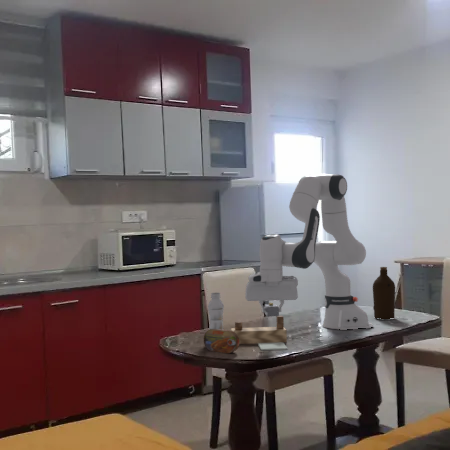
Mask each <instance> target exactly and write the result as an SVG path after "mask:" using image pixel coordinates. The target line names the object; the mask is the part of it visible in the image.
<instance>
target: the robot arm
mask: <svg viewBox="0 0 450 450" xmlns="http://www.w3.org/2000/svg"><path fill="white" fill-rule="evenodd" d="M347 190H348V182H347V179H346V178H345V177H344V176H343V175H342V174H338V173H334V174H331V173H320V174H313V175H311V174H309V175H304V176H302V177H301V178H300V180H299V181H298V183H297V184H296V187H295V189H294V191H293V193H292V196H291V198H290V200H289V206H288V208H289V212H290V213H291V215H292V216H293V217H294V218H295V219H296V220H298V221H300V222H302V223H304V224H305V225H304V230H303V235H302V239H301V240H300V241H298V242H287V241H285V240H283V239H282V238H281V235H280V234H276V233H275V234H274V233H273V234H272V233H271V234H266V235H264V236H262V237H261V239H260V243H259V260H260V266H259V271H258V272H255V273H252V274H250V275H248V276H247V277H248V282H247V284H246V285H245V286H246V287H245V293H244V295H245V300H246V301H248V302H258V304H259V305H260V306H261V312H262V313H265V312H266V307H265V305H263V304H264V302H266V301H267V302H268V301H272V302H273V301H279V303H280V304H279V306H278V307H279V313H281V312H282V307H283V306H284V304H285V301H296V300H297V299H298V298H299V294H298V288H297V287H298V284H299V283H298V281H299V280H298V278H297V277H296V276H294V275H289V276H288V275H284V274H283V267H287V268H288V267H289V268H298V269H303V270H304V269H308V268H309V267H311V266H312V264H313V263H315V264H316V265H317V266H318V267H319V269H320V270H321V272H322V274H323V277H324V284H325V285H324V286H325V295H324V307H325V311H324V318H323V323H322V327H323V328H326V329H333V330H339V329H340V330H341V331H348V330H347V329H353V330H359V329H358V328H366V329H372V328H371V327H373V328H374V324H373V323H372V322H370V321H369V317H368V314H367V312H366V311H365V310H364V309H362V308H361V307H359V306H358V305H357V304H356V302H358V301H359V298H358V297H357V296H352V295H351V279H350V277H349V276H348V275H347V274H345V273H344V272H342V271H341V270H340V268H339V266H355V265H360V264H361V265H362V263H363V262H364V261H365V259H366V257H367V251H366V248H365V246H364V244H363V243H362V242H360V241H359V240H358V239H356V237H355V236H354V235H353V233H352V232H351V229H350V226H349V222H348V214H347V204H346V199H345V195H346V194H347ZM319 201H321V202H320V209H321V216H320V212H319V210H317V209H318V208H317V207H318V204H319ZM320 218H321V220H322V222H321V223H322V228H323V230H324V232H326V233H327V234H329V235H331V236H332V237H333V238H334V239H335V240H320V241H317V239H318V238H317V237H318V235H319V234H318V233H319V228H320V227H319V226H320ZM340 330H339V331H340Z"/></svg>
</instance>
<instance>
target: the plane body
mask: <svg viewBox="0 0 450 450" xmlns="http://www.w3.org/2000/svg"><path fill="white" fill-rule="evenodd" d="M275 318H276V326H263V327H261V326H259V327H243V322H242V321H234V327H233V328H232V327H231V328H230V330H231V331H234V332H235V333H236V334H237V335H238V337H239V345H245V344H247V345H248V344H249V345H251V344H258V343H277V342H283V343H287V341H288V340H287V337H288V334H287V330H288V329H286V328H285V327H284V326H285V323H284V322H285V321H284V318H285V317H284V315H280V314H279V316H275Z"/></svg>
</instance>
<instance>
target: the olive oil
mask: <svg viewBox="0 0 450 450" xmlns="http://www.w3.org/2000/svg"><path fill="white" fill-rule="evenodd" d="M379 269H380V270H379V276H378V277H376V279H375V280H374V282H373V283H372V301H373V306H372V309H373V315H374V317H375V318H381V319H390V318H394V319H395V311H396V310H395V307H396V304H395V302H396V284H395V282H394V281H393V279H392V278H391V277H390V276H389V275H388V267H387V266H380V267H379ZM375 318H374V319H375Z"/></svg>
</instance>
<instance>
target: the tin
mask: <svg viewBox="0 0 450 450" xmlns="http://www.w3.org/2000/svg"><path fill="white" fill-rule="evenodd" d="M203 343H204V344H203V345H204V346H205V348H206V349H207V350H209V351H210V352H214V351H215V352H217V353H222V354H230V353H234V352H236V351H237V350H238V349H239V347H240V344H239V337H238V335H237V334H236V333H235V332H234V331H231V329H229V330H228V329H223V330H220V329H210V330H209V329H207V330H206V331H205V333H204V335H203Z"/></svg>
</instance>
